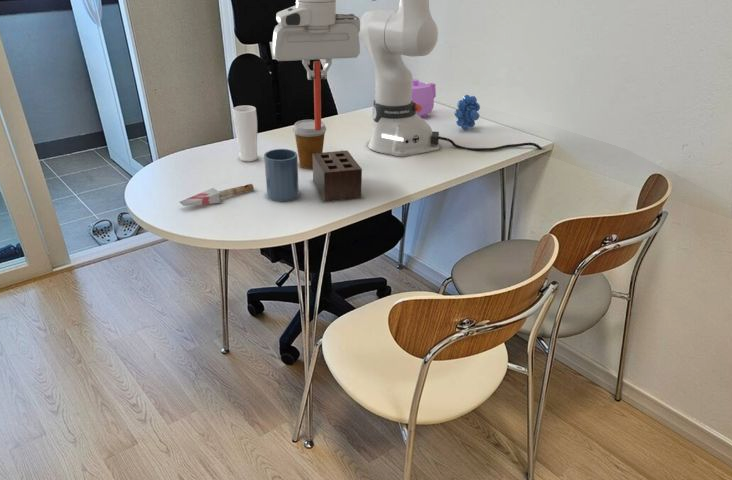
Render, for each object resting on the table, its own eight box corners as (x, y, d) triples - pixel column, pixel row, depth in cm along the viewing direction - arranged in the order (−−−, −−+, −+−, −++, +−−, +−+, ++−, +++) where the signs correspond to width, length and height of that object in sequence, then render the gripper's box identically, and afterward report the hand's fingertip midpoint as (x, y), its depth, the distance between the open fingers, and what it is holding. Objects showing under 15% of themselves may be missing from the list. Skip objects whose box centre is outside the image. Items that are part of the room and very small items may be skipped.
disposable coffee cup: (331, 161, 166) (330, 121, 160) (320, 172, 159) (319, 131, 152) (301, 157, 168) (300, 117, 162) (289, 168, 161) (287, 127, 154)
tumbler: (295, 187, 150) (293, 147, 144) (301, 199, 143) (299, 158, 137) (265, 190, 148) (262, 150, 142) (269, 203, 141) (266, 161, 135)
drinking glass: (255, 163, 164) (251, 112, 155) (234, 162, 165) (228, 111, 156) (263, 155, 169) (259, 106, 161) (242, 154, 170) (237, 104, 162)
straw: (320, 128, 139) (319, 60, 130) (321, 130, 138) (321, 62, 129) (314, 128, 139) (312, 61, 130) (315, 130, 138) (314, 62, 129)
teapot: (422, 107, 214) (425, 73, 207) (443, 115, 205) (447, 80, 198) (379, 115, 205) (381, 79, 198) (399, 124, 196) (402, 87, 189)
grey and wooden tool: (177, 195, 137) (248, 180, 148) (178, 206, 139) (248, 189, 149) (183, 200, 135) (255, 184, 146) (185, 211, 136) (256, 194, 147)
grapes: (462, 136, 186) (467, 100, 179) (448, 131, 191) (452, 95, 184) (486, 129, 192) (491, 94, 185) (471, 124, 196) (476, 90, 190)
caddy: (347, 177, 156) (347, 150, 151) (361, 198, 145) (362, 169, 140) (313, 181, 153) (312, 153, 149) (324, 202, 142) (324, 172, 138)
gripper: (356, 11, 129) (355, 73, 137) (269, 13, 124) (272, 77, 132) (364, 15, 124) (362, 79, 132) (273, 17, 119) (277, 84, 127)
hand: (317, 78), depth 132 cm, fingers closed on straw, 1 cm apart
